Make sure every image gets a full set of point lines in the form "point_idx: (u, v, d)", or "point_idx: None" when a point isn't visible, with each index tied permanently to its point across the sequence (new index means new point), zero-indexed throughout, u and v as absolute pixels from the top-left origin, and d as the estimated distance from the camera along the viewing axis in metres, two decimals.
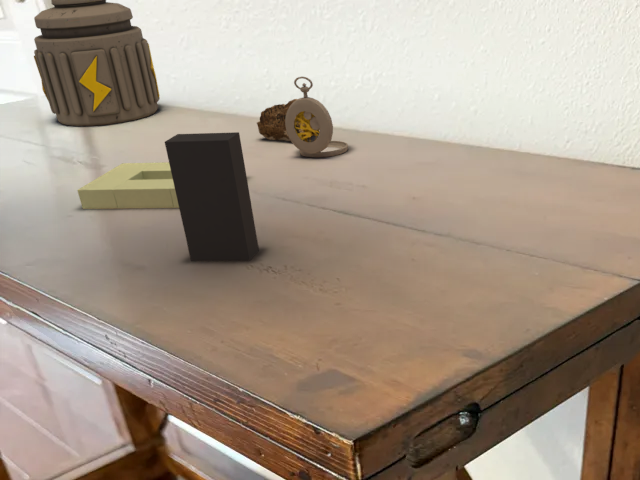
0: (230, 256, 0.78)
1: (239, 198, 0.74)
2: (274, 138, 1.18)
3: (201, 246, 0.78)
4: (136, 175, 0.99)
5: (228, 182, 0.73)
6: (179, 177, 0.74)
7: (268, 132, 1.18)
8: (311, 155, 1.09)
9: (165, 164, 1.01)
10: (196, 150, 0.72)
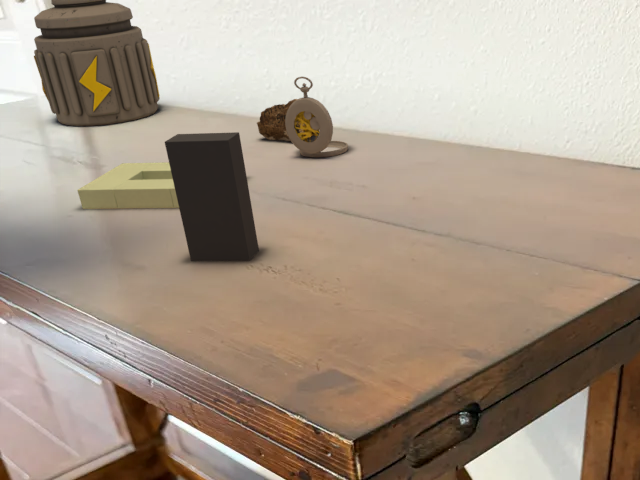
0: (230, 256, 0.78)
1: (239, 198, 0.74)
2: (274, 138, 1.18)
3: (201, 246, 0.78)
4: (136, 175, 0.99)
5: (228, 182, 0.73)
6: (179, 177, 0.74)
7: (268, 132, 1.18)
8: (311, 155, 1.09)
9: (165, 164, 1.01)
10: (196, 150, 0.72)
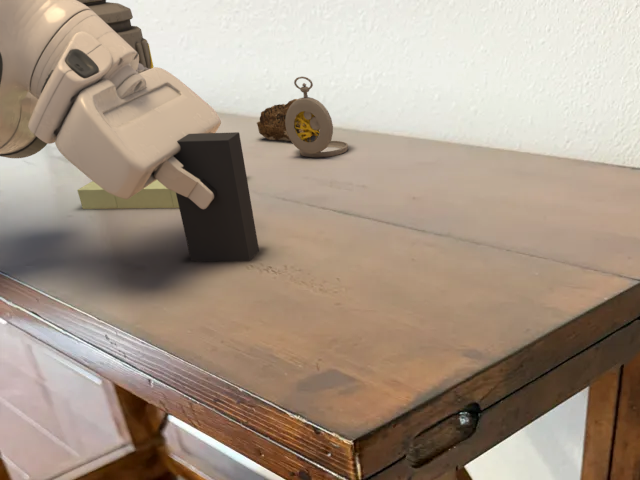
0: (230, 256, 0.78)
1: (239, 198, 0.74)
2: (274, 138, 1.18)
3: (201, 246, 0.78)
4: None
5: (228, 182, 0.73)
6: None
7: (268, 132, 1.18)
8: (311, 155, 1.09)
9: None
10: (196, 150, 0.72)
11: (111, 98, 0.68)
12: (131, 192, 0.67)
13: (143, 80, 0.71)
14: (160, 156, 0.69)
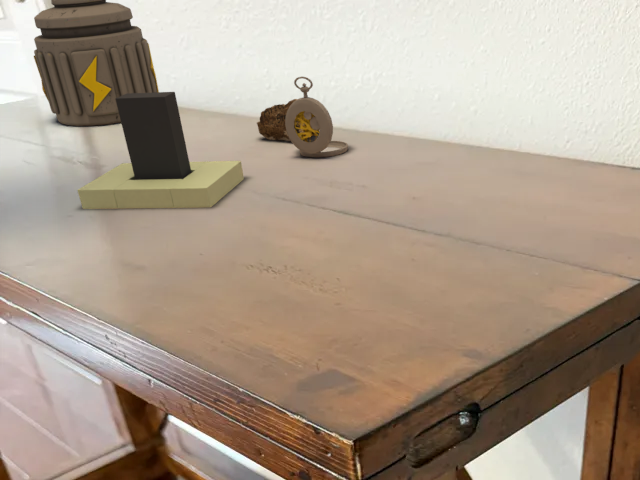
0: None
1: (176, 144, 0.94)
2: (274, 138, 1.18)
3: None
4: None
5: (166, 131, 0.93)
6: (127, 127, 0.93)
7: (268, 132, 1.18)
8: (311, 155, 1.09)
9: None
10: (140, 105, 0.92)
11: None
12: None
13: None
14: None
